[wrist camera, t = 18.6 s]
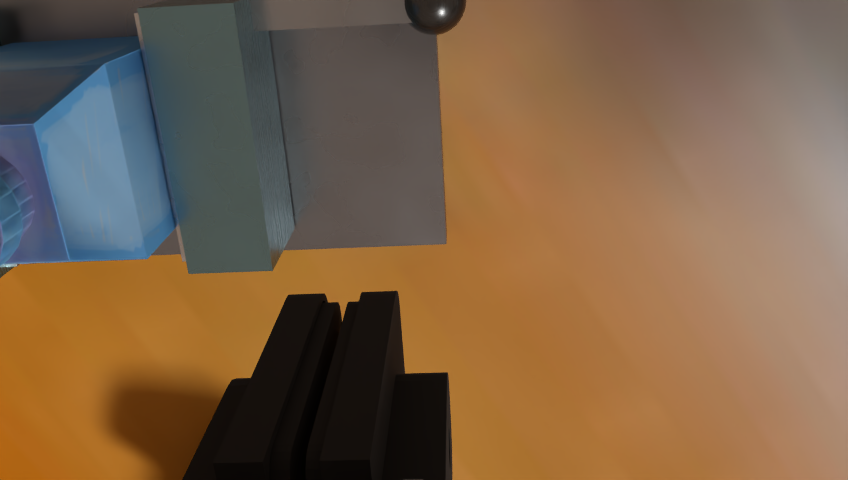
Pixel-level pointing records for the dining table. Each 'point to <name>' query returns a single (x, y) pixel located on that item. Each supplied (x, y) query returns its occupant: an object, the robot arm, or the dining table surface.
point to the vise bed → (318, 121)
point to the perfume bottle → (79, 154)
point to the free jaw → (239, 114)
